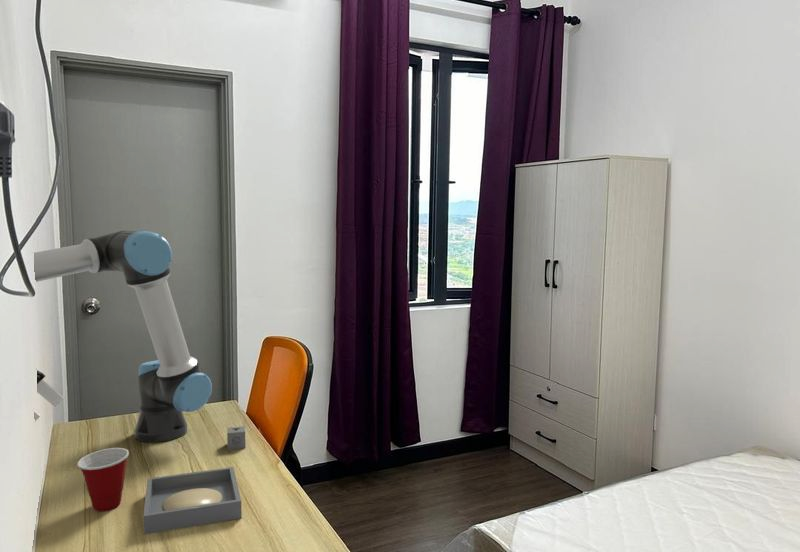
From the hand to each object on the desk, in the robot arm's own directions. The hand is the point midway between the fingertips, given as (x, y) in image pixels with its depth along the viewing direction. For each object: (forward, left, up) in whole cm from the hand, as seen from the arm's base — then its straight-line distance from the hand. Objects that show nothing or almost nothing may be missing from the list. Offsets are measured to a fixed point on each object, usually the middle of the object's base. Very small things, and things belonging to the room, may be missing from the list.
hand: (48, 411), depth 137 cm
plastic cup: (+2, +11, -24) cm, 26 cm away
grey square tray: (+9, +30, -23) cm, 39 cm away
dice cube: (-27, +43, -24) cm, 56 cm away
